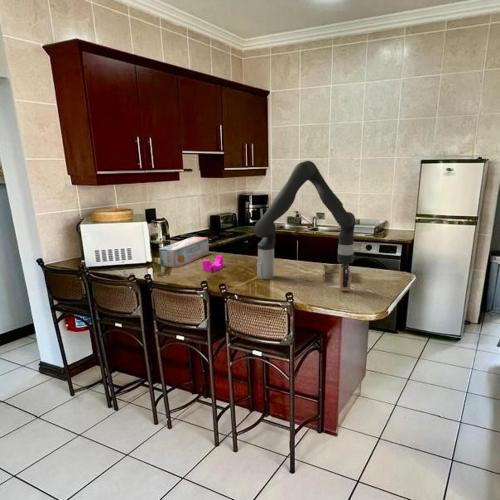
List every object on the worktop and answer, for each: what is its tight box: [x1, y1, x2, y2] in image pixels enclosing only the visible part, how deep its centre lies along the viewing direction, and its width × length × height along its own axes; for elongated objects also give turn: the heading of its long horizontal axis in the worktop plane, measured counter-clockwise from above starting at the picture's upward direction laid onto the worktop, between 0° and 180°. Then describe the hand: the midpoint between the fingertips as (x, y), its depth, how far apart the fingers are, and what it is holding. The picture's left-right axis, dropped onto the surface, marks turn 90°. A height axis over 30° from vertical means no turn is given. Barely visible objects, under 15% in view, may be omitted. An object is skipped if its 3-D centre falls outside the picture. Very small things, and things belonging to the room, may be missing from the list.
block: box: [338, 270, 352, 292], centre depth 192 cm, size 5×5×9 cm
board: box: [328, 284, 355, 290], centre depth 194 cm, size 14×20×1 cm
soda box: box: [158, 236, 210, 268], centre depth 267 cm, size 41×14×13 cm, turn 154°
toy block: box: [202, 254, 224, 273], centre depth 241 cm, size 15×6×8 cm, turn 144°
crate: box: [321, 263, 353, 283], centre depth 218 cm, size 15×20×5 cm
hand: (344, 285), depth 193 cm, fingers closed on block, 5 cm apart
